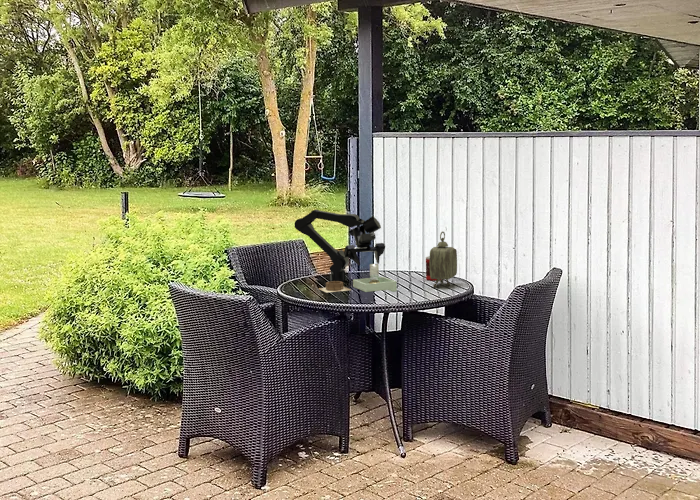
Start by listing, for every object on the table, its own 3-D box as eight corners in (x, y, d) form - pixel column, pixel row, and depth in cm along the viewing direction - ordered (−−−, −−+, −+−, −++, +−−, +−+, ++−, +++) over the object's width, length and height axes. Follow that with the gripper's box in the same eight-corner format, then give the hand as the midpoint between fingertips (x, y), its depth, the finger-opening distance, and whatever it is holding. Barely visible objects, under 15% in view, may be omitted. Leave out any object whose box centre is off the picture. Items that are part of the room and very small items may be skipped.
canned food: (444, 278, 376) (443, 256, 375) (439, 281, 369) (438, 258, 368) (429, 277, 379) (428, 255, 378) (423, 280, 372) (423, 257, 371)
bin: (383, 286, 360) (383, 276, 360) (396, 291, 346) (396, 281, 346) (353, 289, 355) (352, 279, 354) (365, 294, 341) (365, 284, 340)
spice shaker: (374, 287, 354) (374, 263, 353) (382, 288, 350) (381, 264, 349) (367, 288, 351) (366, 264, 349) (374, 289, 347) (373, 265, 346)
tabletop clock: (439, 282, 364) (438, 229, 361) (458, 283, 361) (457, 230, 358) (430, 288, 351) (428, 233, 348) (449, 289, 348) (448, 233, 345)
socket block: (342, 288, 358) (342, 279, 357) (351, 292, 347) (351, 283, 346) (317, 290, 354) (317, 281, 353) (326, 295, 343) (326, 285, 342)
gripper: (344, 228, 355) (352, 254, 346) (383, 225, 361) (392, 251, 352) (340, 243, 364) (348, 269, 355) (378, 240, 369) (386, 266, 360)
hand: (369, 264), depth 355 cm, fingers open, 9 cm apart
